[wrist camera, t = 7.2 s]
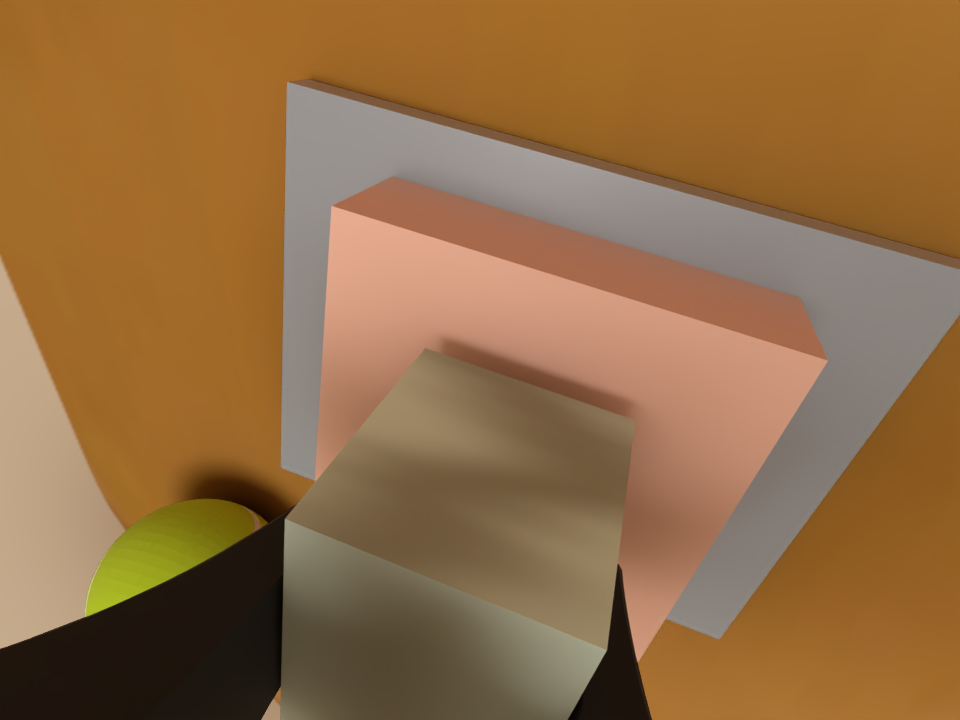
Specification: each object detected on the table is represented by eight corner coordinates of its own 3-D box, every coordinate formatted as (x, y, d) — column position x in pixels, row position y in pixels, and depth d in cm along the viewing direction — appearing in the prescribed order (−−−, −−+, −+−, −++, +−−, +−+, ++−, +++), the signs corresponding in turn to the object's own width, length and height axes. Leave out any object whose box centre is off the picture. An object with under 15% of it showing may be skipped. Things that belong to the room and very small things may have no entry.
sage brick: (635, 420, 11) (606, 649, 7) (557, 595, 14) (505, 830, 10) (425, 347, 12) (284, 518, 8) (393, 530, 15) (280, 724, 11)
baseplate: (966, 261, 12) (987, 277, 12) (717, 613, 19) (719, 639, 19) (309, 79, 15) (287, 81, 14) (296, 451, 22) (280, 467, 21)
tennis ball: (311, 482, 22) (181, 639, 17) (333, 601, 26) (232, 766, 20) (165, 449, 24) (1, 580, 18) (204, 565, 28) (76, 706, 22)
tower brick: (800, 297, 13) (828, 360, 10) (644, 575, 18) (638, 661, 16) (392, 176, 14) (331, 205, 12) (358, 466, 20) (311, 528, 17)
